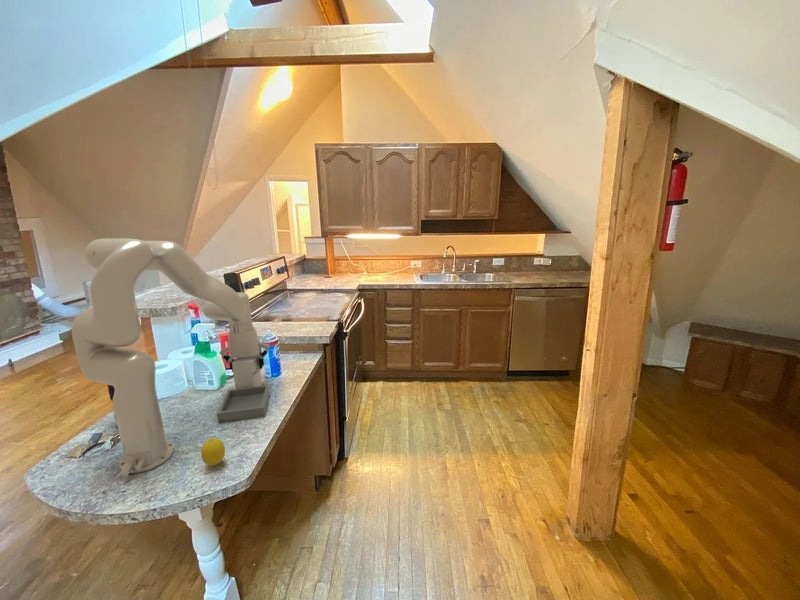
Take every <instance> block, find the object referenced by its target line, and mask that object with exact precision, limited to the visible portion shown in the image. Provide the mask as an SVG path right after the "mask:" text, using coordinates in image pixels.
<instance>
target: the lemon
mask: <svg viewBox="0 0 800 600" xmlns="http://www.w3.org/2000/svg"><path fill="white" fill-rule="evenodd" d="M200 455H201V459H202V461H203V463H205V465H206V466H207V465H208V466H211V467H212V466H217V465H218V464H220V463H221V462H222V461H223V459H224V458H225V456H226V448H225V445H224V443H223V441H222V440H221V439H220V438H216V437H213V438H212V437H211V438H209V439H208V440H206V441H205V442H204V443H203V444H202V447H201V453H200Z"/></svg>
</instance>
